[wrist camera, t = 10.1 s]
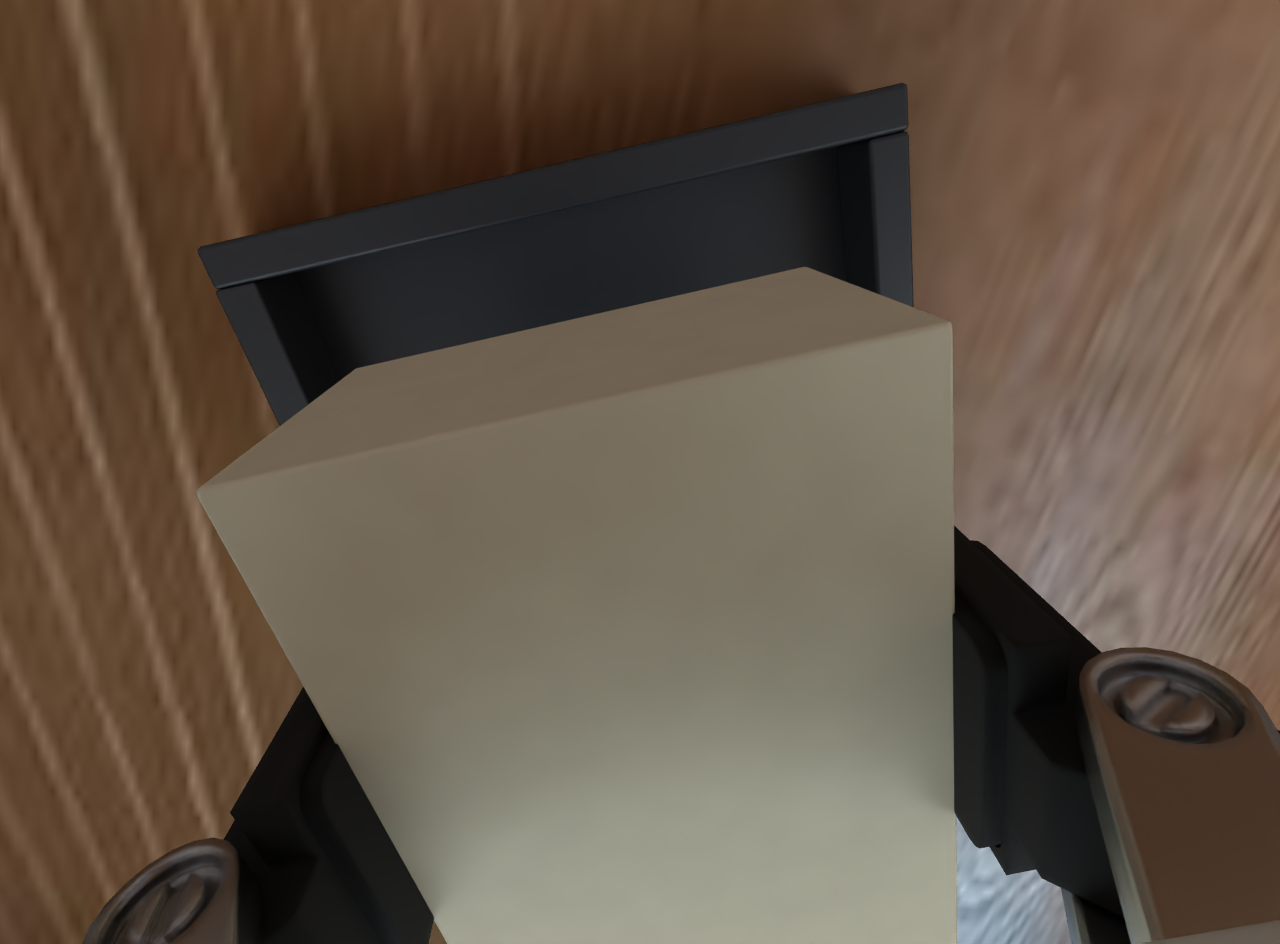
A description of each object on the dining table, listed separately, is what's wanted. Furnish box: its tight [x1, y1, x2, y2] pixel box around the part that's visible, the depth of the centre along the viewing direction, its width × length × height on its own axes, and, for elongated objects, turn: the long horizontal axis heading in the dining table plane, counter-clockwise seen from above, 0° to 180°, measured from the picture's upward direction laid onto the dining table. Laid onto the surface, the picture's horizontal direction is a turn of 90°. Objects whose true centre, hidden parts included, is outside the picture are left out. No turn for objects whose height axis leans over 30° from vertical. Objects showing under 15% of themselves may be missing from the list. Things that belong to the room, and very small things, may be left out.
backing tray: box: [198, 83, 913, 426], centre depth 18 cm, size 24×14×2 cm, turn 12°
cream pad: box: [196, 267, 957, 944], centre depth 9 cm, size 9×6×4 cm
